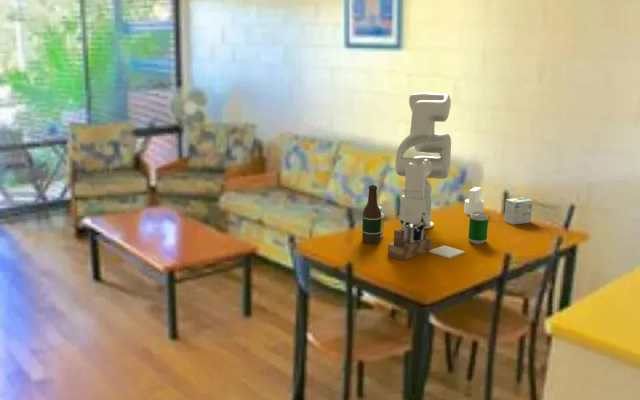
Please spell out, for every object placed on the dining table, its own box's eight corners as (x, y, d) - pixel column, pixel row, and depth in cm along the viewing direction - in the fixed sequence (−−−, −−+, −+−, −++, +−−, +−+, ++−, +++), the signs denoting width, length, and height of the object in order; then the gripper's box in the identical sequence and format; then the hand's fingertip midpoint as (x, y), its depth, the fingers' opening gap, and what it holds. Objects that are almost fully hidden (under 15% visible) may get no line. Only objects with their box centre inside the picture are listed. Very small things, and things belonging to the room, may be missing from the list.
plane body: (401, 260, 258) (402, 233, 255) (387, 255, 263) (388, 229, 260) (430, 250, 270) (432, 224, 267) (417, 246, 275) (418, 220, 272)
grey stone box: (410, 244, 261) (411, 227, 259) (400, 241, 265) (401, 224, 263) (423, 240, 266) (424, 223, 265) (413, 237, 270) (414, 221, 268)
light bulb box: (521, 218, 316) (523, 196, 313) (531, 222, 310) (533, 200, 307) (503, 221, 311) (505, 198, 309) (512, 225, 306) (514, 202, 303)
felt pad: (428, 252, 268) (428, 250, 268) (444, 246, 274) (444, 245, 274) (449, 258, 261) (449, 256, 261) (464, 252, 267) (464, 251, 267)
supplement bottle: (385, 237, 285) (387, 208, 282) (371, 239, 283) (372, 209, 280) (379, 233, 291) (380, 204, 288) (365, 234, 289) (366, 205, 286)
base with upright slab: (479, 216, 318) (481, 192, 315) (461, 213, 323) (463, 189, 320) (485, 212, 326) (487, 188, 323) (467, 209, 330) (469, 185, 327)
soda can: (486, 245, 277) (489, 217, 274) (468, 243, 279) (470, 216, 276) (486, 239, 284) (488, 212, 281) (468, 238, 286) (470, 211, 283)
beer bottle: (382, 240, 282) (384, 184, 276) (377, 245, 275) (379, 188, 269) (364, 238, 284) (366, 182, 278) (359, 243, 277) (361, 187, 271)
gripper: (391, 191, 264) (389, 235, 269) (425, 199, 252) (422, 245, 257) (403, 188, 269) (401, 231, 274) (437, 196, 257) (435, 241, 262)
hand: (412, 238), depth 265 cm, fingers closed on grey stone box, 5 cm apart
